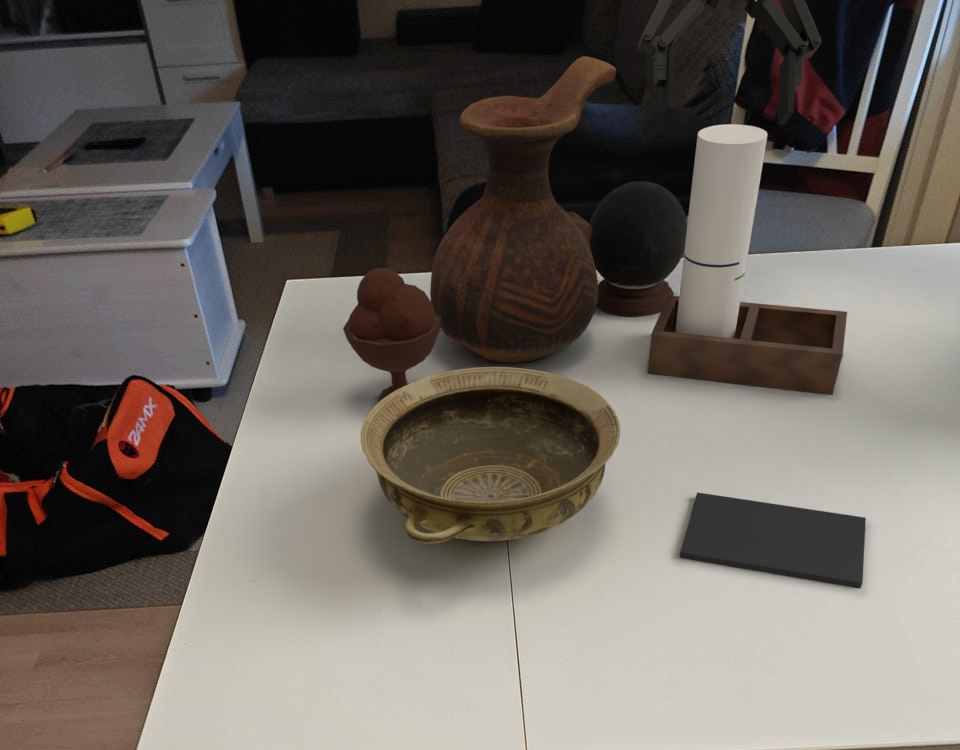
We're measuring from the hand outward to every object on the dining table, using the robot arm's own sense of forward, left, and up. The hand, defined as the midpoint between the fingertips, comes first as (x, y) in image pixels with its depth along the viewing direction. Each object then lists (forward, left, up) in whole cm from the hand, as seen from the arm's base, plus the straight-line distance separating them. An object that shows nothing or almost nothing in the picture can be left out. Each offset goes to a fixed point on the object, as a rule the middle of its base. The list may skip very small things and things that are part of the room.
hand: (726, 117), depth 99 cm
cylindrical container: (-2, +9, -24) cm, 26 cm away
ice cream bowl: (+31, +28, -24) cm, 49 cm away
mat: (-14, +44, -24) cm, 52 cm away
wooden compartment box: (-7, +9, -24) cm, 27 cm away
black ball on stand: (+10, -6, -24) cm, 27 cm away
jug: (+22, +10, -24) cm, 35 cm away
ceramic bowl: (+13, +47, -24) cm, 55 cm away
